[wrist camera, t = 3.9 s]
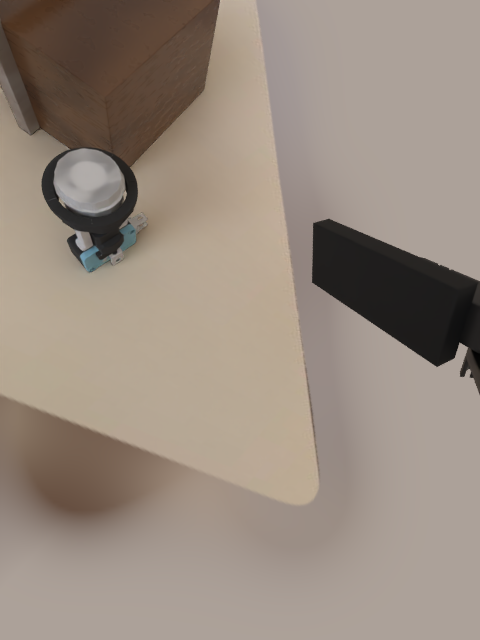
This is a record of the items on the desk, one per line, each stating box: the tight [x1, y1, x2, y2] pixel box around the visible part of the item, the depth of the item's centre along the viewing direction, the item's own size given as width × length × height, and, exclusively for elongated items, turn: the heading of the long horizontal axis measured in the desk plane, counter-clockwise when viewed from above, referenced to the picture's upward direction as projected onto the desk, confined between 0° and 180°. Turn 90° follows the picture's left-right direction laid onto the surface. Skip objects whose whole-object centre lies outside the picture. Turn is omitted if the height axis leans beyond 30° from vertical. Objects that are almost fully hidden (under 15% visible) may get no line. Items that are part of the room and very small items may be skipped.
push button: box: [42, 147, 148, 273], centre depth 26 cm, size 7×5×10 cm
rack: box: [0, 0, 220, 167], centre depth 28 cm, size 9×16×12 cm, turn 149°
